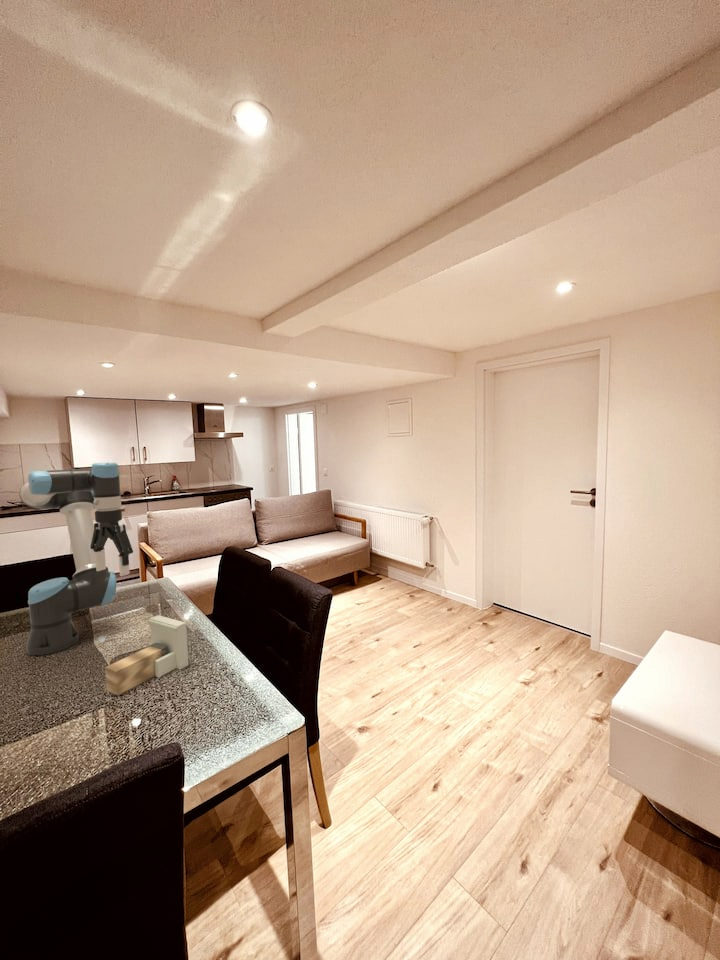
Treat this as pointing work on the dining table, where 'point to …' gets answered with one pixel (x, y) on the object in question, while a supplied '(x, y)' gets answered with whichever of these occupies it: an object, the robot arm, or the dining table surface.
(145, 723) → the dining table surface
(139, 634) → the dining table surface
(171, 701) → the dining table surface
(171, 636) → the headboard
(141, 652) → the tan and grey block
